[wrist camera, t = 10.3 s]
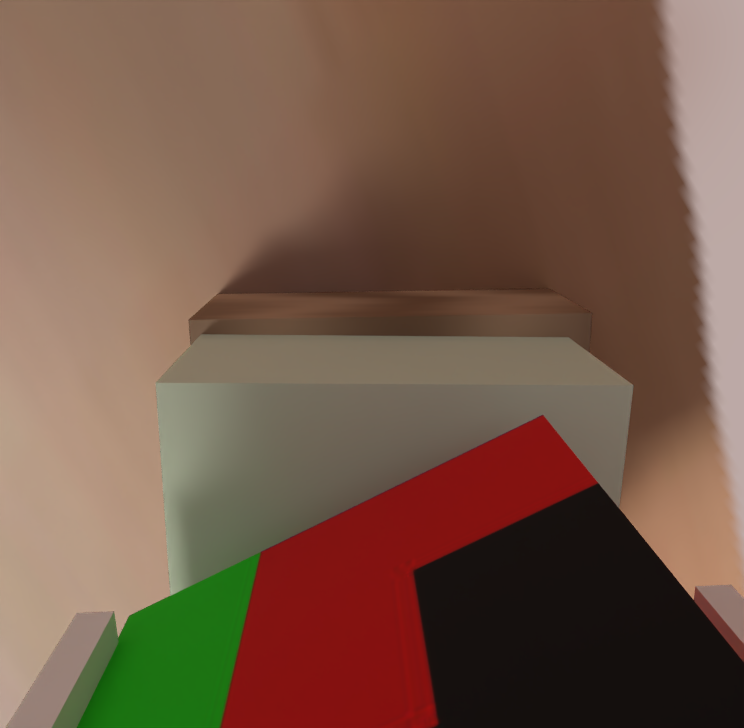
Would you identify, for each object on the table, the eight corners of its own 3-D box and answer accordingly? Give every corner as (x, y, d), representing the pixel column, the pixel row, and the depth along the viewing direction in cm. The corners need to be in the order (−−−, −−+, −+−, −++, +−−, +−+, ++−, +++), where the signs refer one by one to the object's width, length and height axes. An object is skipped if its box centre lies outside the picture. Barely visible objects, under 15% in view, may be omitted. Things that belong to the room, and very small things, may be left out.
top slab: (217, 652, 24) (182, 775, 19) (200, 334, 21) (155, 382, 16) (539, 650, 24) (588, 770, 19) (568, 337, 21) (633, 385, 16)
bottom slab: (239, 583, 28) (217, 666, 24) (219, 292, 25) (188, 319, 20) (531, 575, 29) (567, 655, 24) (547, 287, 26) (592, 313, 21)
